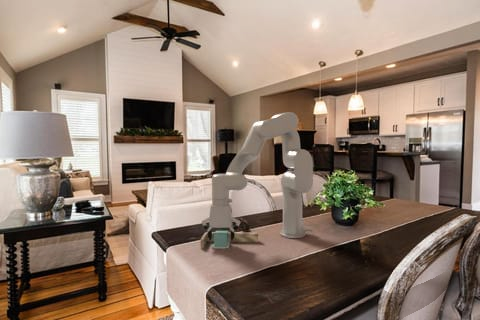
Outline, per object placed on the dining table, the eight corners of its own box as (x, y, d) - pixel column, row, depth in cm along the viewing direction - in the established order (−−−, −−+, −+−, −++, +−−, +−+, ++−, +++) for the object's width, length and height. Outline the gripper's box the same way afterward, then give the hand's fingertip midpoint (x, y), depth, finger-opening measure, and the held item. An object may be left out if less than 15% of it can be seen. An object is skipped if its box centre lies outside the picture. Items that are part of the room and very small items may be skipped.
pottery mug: (252, 235, 136) (244, 223, 134) (235, 243, 138) (227, 230, 136) (252, 222, 148) (244, 210, 146) (236, 229, 149) (229, 218, 147)
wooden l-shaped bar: (258, 241, 128) (258, 232, 127) (258, 249, 118) (258, 240, 117) (205, 240, 129) (205, 232, 129) (200, 248, 119) (200, 239, 119)
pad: (229, 242, 126) (229, 242, 126) (228, 248, 119) (228, 247, 119) (214, 242, 126) (214, 241, 126) (212, 248, 119) (212, 247, 119)
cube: (228, 242, 125) (228, 230, 125) (226, 247, 120) (226, 234, 119) (216, 242, 126) (216, 230, 125) (214, 247, 120) (214, 234, 120)
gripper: (240, 200, 125) (241, 237, 126) (203, 200, 126) (203, 236, 127) (239, 203, 117) (240, 243, 118) (199, 203, 118) (200, 242, 119)
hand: (221, 239), depth 122 cm, fingers open, 9 cm apart
